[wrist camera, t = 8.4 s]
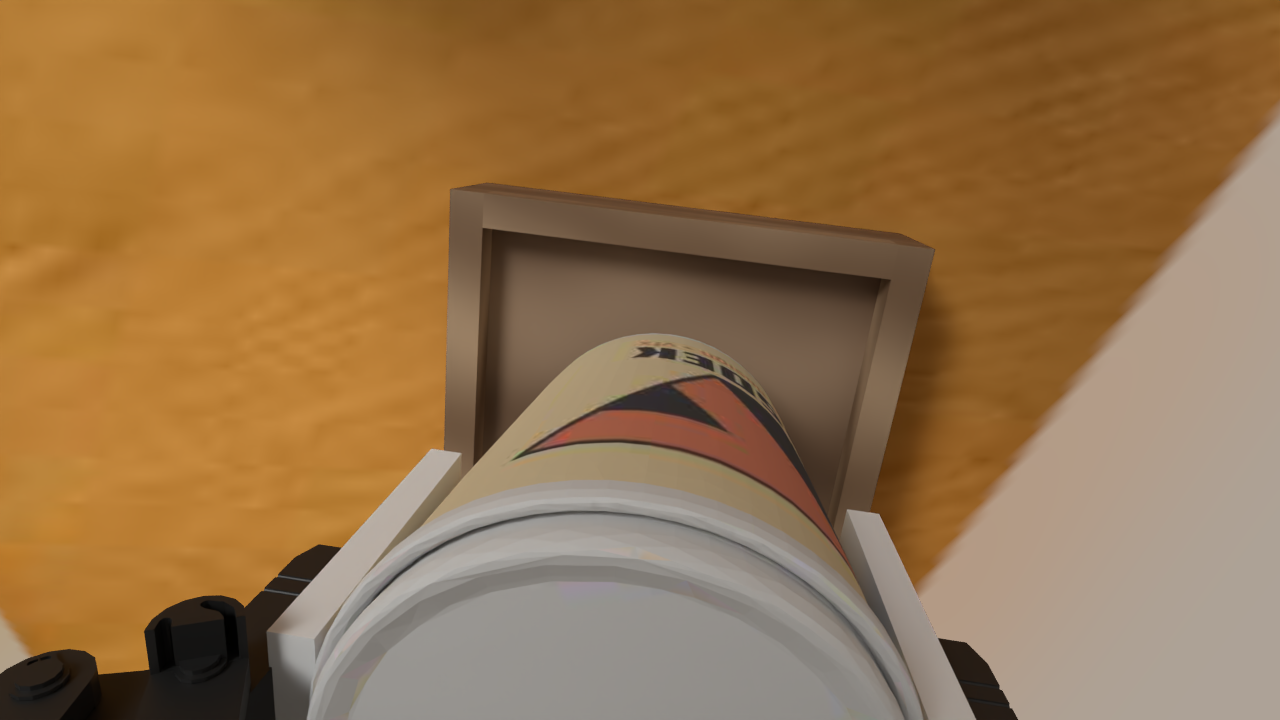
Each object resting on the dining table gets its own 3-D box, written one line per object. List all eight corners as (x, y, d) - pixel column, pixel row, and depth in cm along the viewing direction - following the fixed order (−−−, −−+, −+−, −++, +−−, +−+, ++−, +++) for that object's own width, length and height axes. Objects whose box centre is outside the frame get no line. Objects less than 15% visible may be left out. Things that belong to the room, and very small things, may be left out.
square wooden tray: (486, 182, 23) (450, 189, 20) (901, 233, 22) (935, 249, 19) (472, 536, 27) (440, 590, 24) (818, 588, 27) (834, 651, 23)
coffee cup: (877, 434, 20) (1106, 813, 9) (679, 629, 23) (656, 1114, 11) (628, 237, 19) (516, 374, 8) (452, 467, 22) (174, 824, 10)
